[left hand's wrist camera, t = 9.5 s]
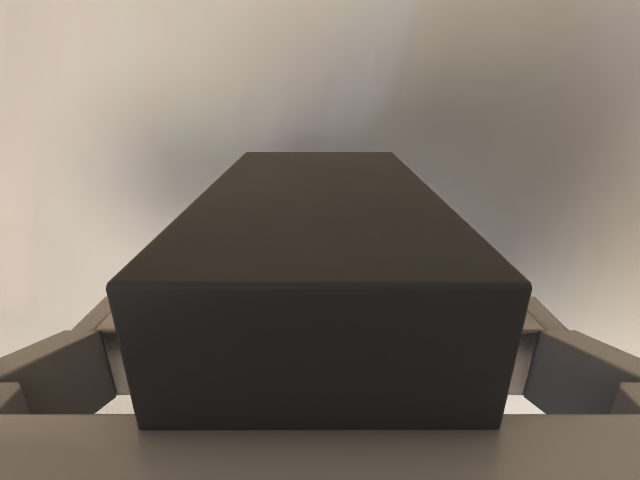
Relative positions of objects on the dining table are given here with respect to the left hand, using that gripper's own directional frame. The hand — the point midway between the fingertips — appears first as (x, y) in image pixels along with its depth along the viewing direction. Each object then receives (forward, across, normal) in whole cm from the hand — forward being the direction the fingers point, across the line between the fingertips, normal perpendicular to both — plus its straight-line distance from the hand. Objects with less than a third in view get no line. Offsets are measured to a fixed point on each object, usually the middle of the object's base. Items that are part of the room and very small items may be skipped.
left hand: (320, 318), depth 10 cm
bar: (+3, 0, -10) cm, 10 cm away
